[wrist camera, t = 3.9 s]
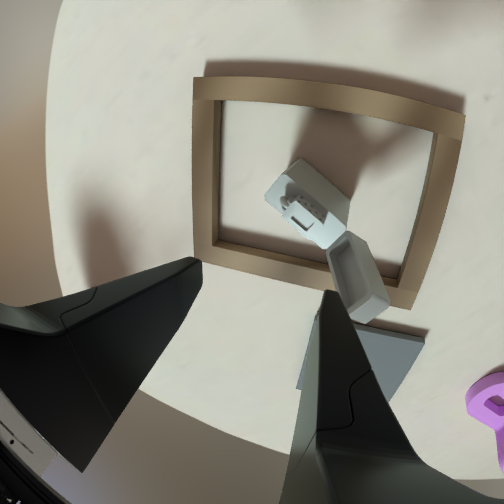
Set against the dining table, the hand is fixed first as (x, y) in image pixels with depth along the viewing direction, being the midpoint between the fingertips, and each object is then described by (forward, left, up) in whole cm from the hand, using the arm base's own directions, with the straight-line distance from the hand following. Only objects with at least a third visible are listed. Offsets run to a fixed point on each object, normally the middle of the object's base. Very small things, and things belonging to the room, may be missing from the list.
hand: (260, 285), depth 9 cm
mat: (-6, +14, -11) cm, 19 cm away
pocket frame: (0, 0, -11) cm, 11 cm away
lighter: (-1, +1, -11) cm, 11 cm away
